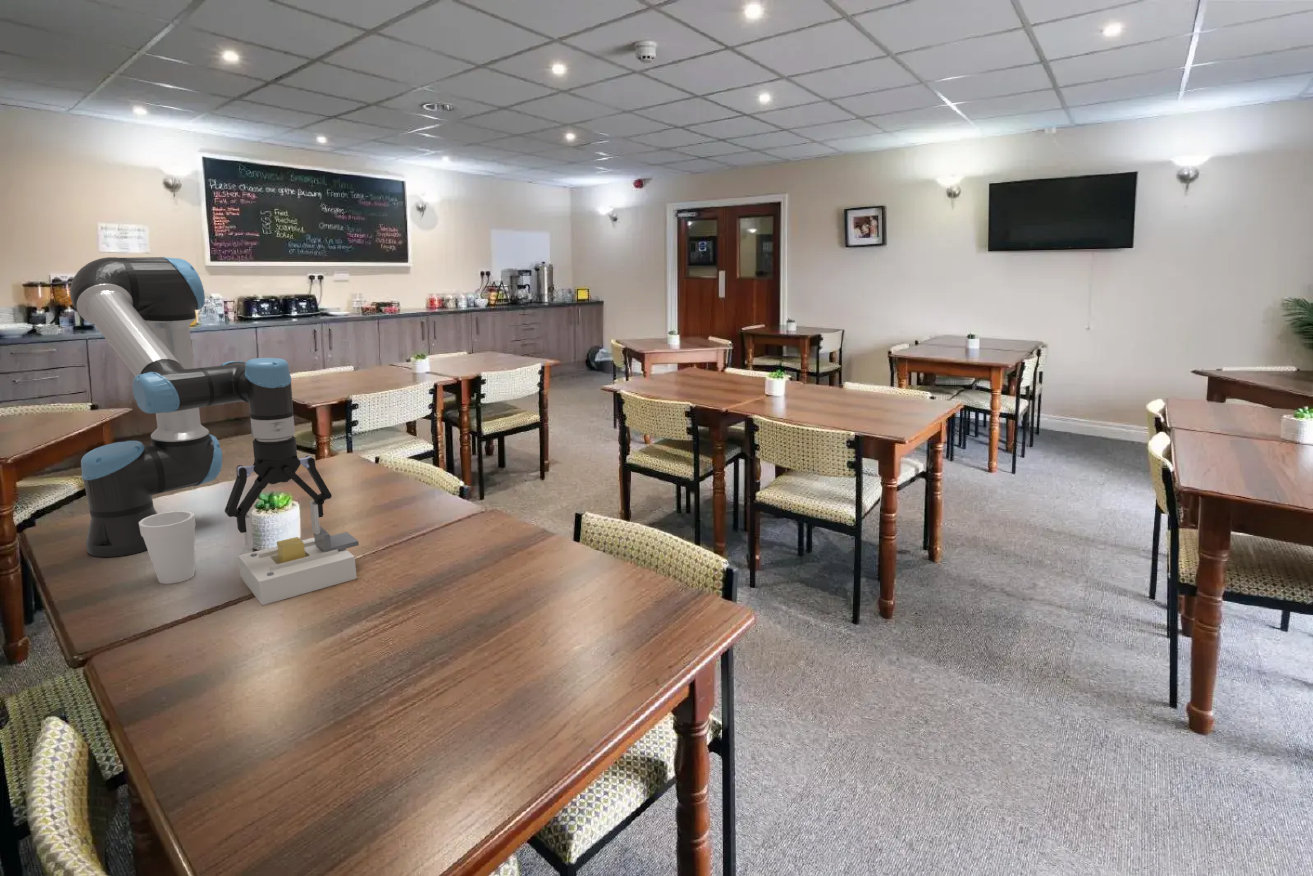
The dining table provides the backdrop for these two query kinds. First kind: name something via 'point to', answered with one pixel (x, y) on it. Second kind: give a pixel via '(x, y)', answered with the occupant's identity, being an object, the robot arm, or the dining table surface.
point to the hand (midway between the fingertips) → (283, 539)
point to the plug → (290, 549)
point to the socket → (294, 572)
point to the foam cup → (170, 544)
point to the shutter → (334, 541)
